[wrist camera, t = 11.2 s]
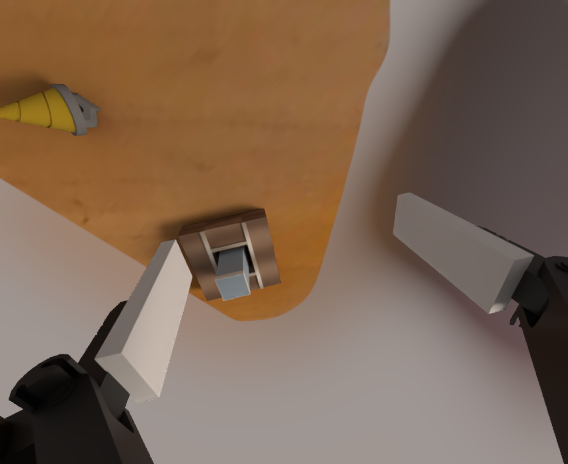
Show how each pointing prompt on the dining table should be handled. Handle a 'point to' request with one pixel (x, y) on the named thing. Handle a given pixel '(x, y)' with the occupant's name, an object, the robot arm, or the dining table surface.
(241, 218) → the socket block
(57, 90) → the yellow spinning top
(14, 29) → the dining table surface
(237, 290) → the peg
